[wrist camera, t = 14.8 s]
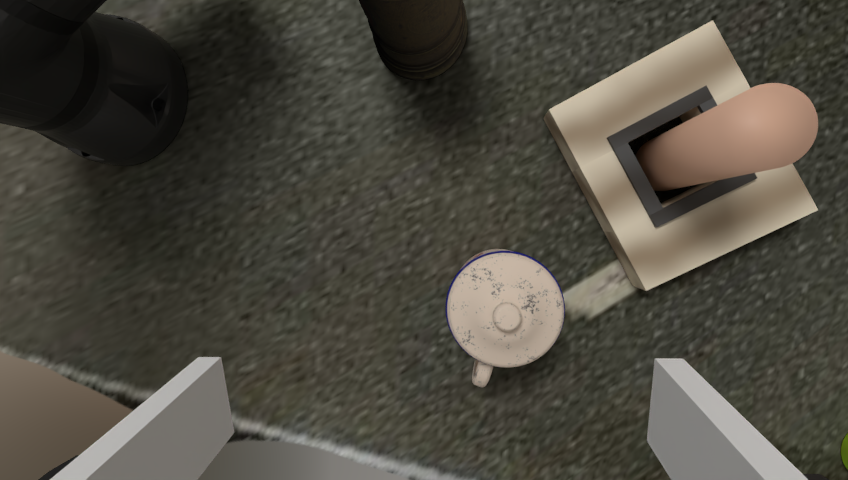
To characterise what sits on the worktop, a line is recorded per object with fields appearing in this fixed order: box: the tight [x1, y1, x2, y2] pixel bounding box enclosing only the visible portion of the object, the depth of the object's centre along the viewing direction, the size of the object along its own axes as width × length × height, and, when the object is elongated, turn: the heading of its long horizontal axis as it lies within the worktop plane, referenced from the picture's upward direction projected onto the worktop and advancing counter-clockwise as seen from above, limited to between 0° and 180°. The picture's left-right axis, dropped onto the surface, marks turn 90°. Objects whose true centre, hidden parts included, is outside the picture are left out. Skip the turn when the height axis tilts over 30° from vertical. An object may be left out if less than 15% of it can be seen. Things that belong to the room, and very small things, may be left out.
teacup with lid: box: [446, 249, 565, 387], centre depth 34 cm, size 12×9×12 cm
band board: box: [543, 21, 818, 291], centre depth 36 cm, size 18×15×3 cm
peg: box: [635, 83, 818, 191], centre depth 31 cm, size 5×5×14 cm
